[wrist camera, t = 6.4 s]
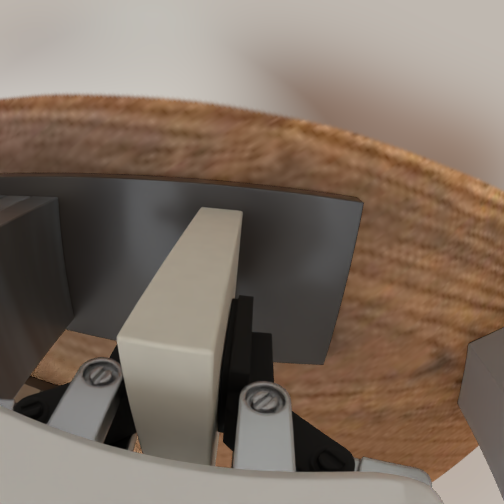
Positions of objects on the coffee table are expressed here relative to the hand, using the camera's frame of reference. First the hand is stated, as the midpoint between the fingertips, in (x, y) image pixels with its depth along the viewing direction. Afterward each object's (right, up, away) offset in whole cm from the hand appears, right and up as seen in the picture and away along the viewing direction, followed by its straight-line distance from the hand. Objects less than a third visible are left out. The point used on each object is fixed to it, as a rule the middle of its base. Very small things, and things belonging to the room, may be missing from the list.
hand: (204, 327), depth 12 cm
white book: (0, +1, +3) cm, 4 cm away
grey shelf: (-6, +2, +4) cm, 8 cm away
